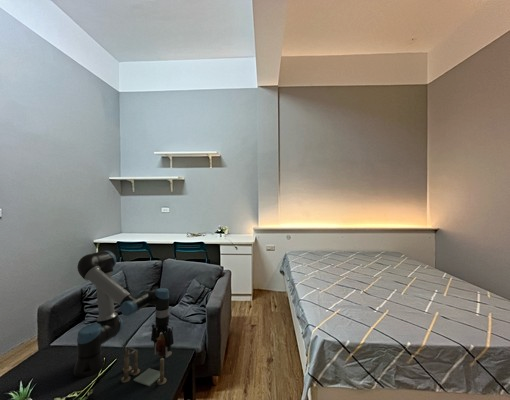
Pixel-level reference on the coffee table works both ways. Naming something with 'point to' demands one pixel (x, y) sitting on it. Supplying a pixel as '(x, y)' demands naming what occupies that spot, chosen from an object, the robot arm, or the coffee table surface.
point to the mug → (161, 345)
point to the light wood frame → (128, 368)
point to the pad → (148, 377)
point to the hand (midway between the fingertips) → (162, 354)
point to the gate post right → (161, 373)
